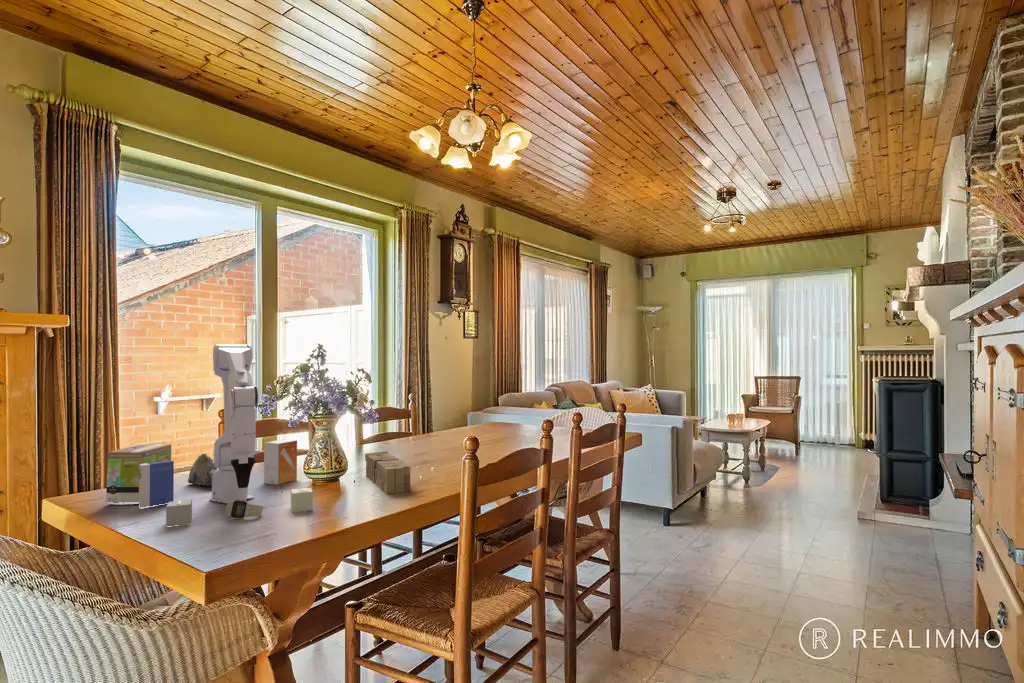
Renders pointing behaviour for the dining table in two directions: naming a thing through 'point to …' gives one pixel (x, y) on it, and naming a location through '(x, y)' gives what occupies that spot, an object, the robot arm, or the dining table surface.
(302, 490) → the block marked 7
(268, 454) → the small box
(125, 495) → the tea box
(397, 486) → the block tower
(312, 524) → the dining table surface
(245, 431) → the robot arm
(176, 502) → the block marked 1
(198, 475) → the mineral rock
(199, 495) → the dining table surface
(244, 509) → the wristwatch
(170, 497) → the blue carton
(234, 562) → the dining table surface
